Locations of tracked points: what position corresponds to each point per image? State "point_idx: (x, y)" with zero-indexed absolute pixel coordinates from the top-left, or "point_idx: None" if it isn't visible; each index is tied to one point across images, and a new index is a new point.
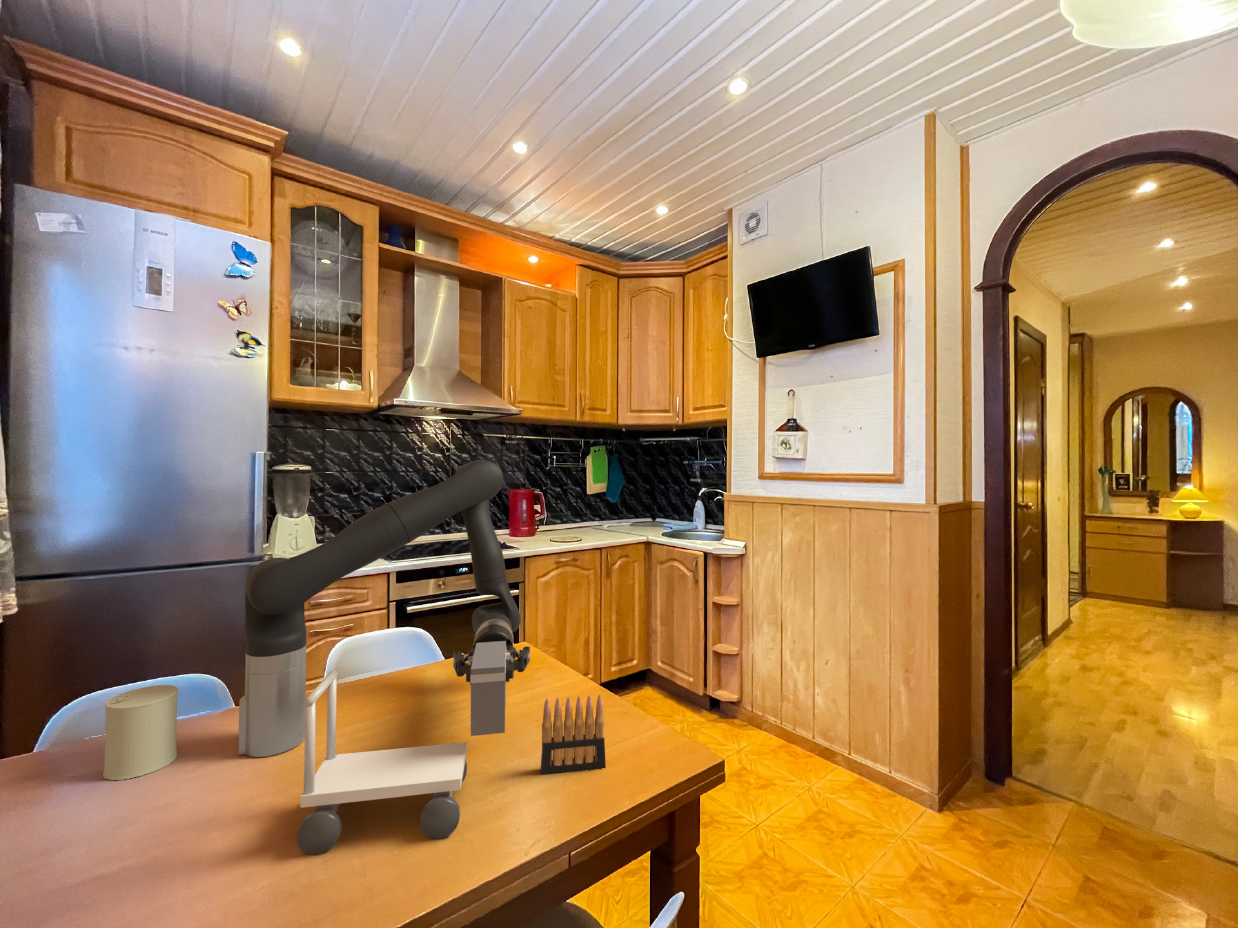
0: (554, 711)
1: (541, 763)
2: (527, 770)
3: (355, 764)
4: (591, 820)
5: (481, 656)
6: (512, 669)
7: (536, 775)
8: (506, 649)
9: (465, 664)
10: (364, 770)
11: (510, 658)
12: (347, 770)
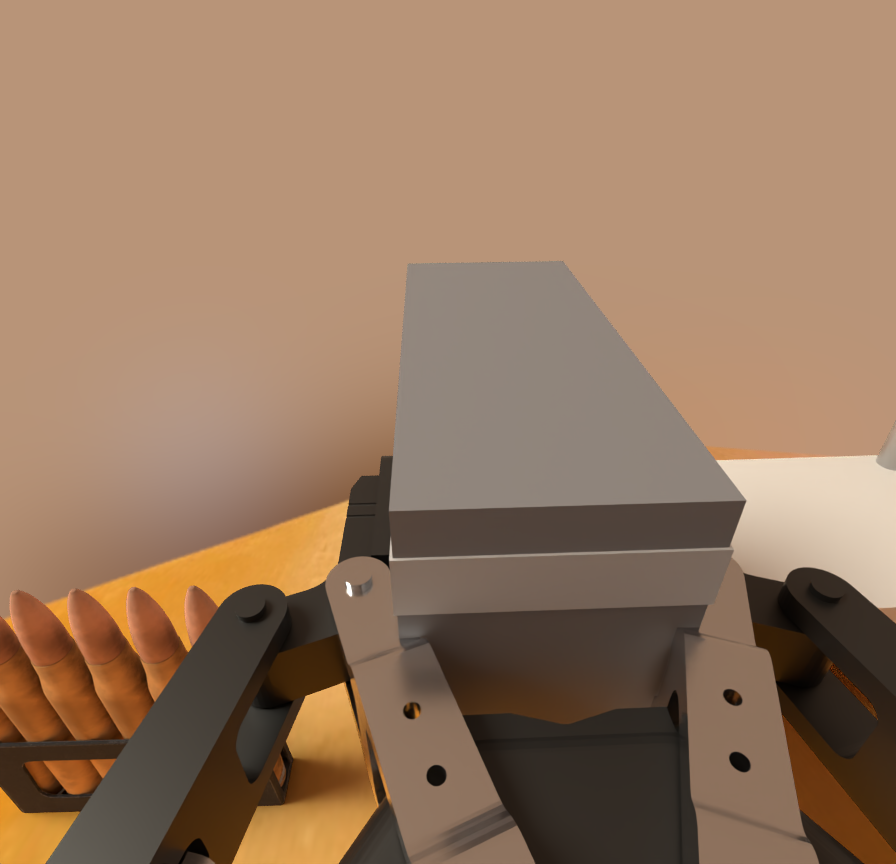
0: (172, 635)
1: (278, 784)
2: (338, 799)
3: (890, 542)
4: (229, 552)
5: (556, 321)
6: (360, 485)
7: (310, 757)
8: (385, 761)
9: (759, 595)
10: (827, 515)
11: (358, 569)
12: (882, 521)
